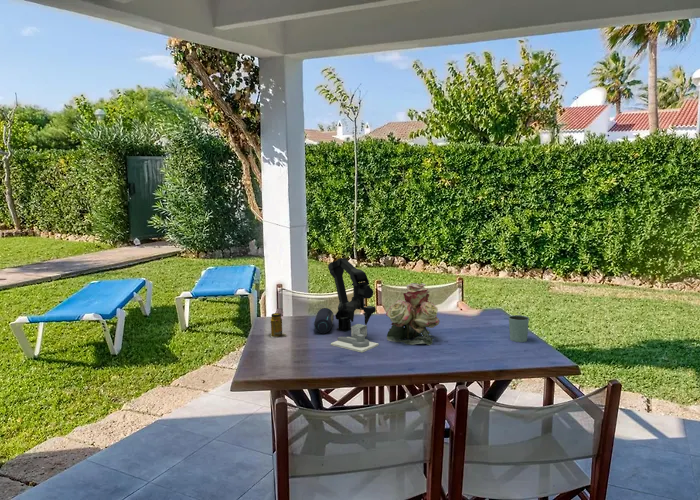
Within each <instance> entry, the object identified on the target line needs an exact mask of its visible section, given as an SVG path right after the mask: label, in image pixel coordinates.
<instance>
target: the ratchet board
mask: <svg viewBox="0 0 700 500" xmlns="http://www.w3.org/2000/svg"><path fill="white" fill-rule="evenodd" d="M330 346H334V347H337V348H342V349H346V350H350V351H353V352H358V353H362V354H363V353H364V352H368V351H369V350H371V349H374V348H375V347H378V346H379V343H378V342H373V341H370V340H369V339H368V338H366V337H365V335H362V334H359V335H357V338H353V337H351V336H338V337H337V340H336V341H333V342H331V343H330Z"/></svg>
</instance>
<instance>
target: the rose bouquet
mask: <svg viewBox="0 0 700 500" xmlns="http://www.w3.org/2000/svg"><path fill="white" fill-rule="evenodd" d="M405 286H406V290H407V292H404V293H402V295H403V298H404V300H402V299H398V300H396V301H395V302H394V303H393V304H392V305H391V306H390V307H389V308H388V309H387V311H386V313H385V316H387V317H388V318H389V319H390V321H391V324H390V325H391V327H390V328H389V330H388V332H387V335H386V340H387V342H393V343H403V344H405V345H419V344H426V345H427V346H431V345H432V344H433V340H434V339H435V338H434V337H432V336H431V335H428V334H431V333H430V330H427V328H430V329H434V327H438V326H439V325H440V321H441V320H440V319H439V317H438V311H439V309H438V307H437V306H436V305H434V303H433V302H431V301H429V297H430V294H429V293H430V291H429V290H428V289H429V288H426V287H425V286H426V283H423V282H420V283H418V282H411V283H409V284H406V285H405ZM421 333H422V334H421ZM419 334H421V335H423V336H421V335H419ZM430 336H431V337H430Z"/></svg>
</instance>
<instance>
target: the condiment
mask: <svg viewBox="0 0 700 500" xmlns="http://www.w3.org/2000/svg"><path fill="white" fill-rule="evenodd" d="M282 318H283V317H282V314H281V313H279V312H275V313H272V314H271V319H270V331H271V333H270V334H269V335H270V337H271V338H281V337H282V338H283V337H288V335H287V333H286V332H283V319H282Z"/></svg>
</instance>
